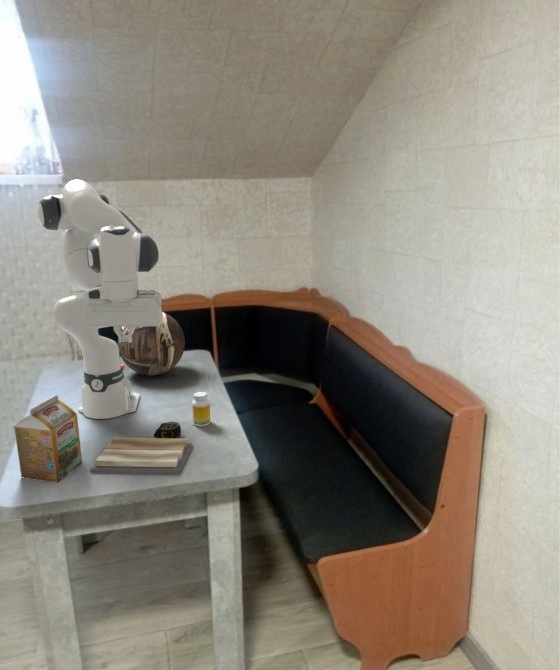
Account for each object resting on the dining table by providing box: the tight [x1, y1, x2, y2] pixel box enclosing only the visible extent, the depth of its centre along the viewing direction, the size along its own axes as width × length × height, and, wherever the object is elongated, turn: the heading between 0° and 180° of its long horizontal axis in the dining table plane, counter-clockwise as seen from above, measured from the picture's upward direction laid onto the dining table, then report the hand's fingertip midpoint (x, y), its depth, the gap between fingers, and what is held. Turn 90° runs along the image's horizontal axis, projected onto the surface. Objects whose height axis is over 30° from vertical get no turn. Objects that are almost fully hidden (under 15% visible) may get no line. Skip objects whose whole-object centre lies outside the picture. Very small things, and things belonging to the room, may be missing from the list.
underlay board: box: [90, 442, 193, 475], centre depth 154 cm, size 16×23×1 cm
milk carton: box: [13, 394, 83, 484], centre depth 147 cm, size 11×11×19 cm
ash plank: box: [95, 448, 183, 467], centre depth 151 cm, size 7×21×2 cm, turn 86°
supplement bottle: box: [191, 391, 211, 427], centre depth 176 cm, size 5×5×10 cm
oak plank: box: [105, 437, 190, 454], centre depth 158 cm, size 7×21×2 cm, turn 86°
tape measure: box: [153, 421, 182, 438], centre depth 167 cm, size 7×7×4 cm
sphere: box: [117, 311, 186, 376], centre depth 221 cm, size 25×25×25 cm
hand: (125, 342), depth 152 cm, fingers closed
